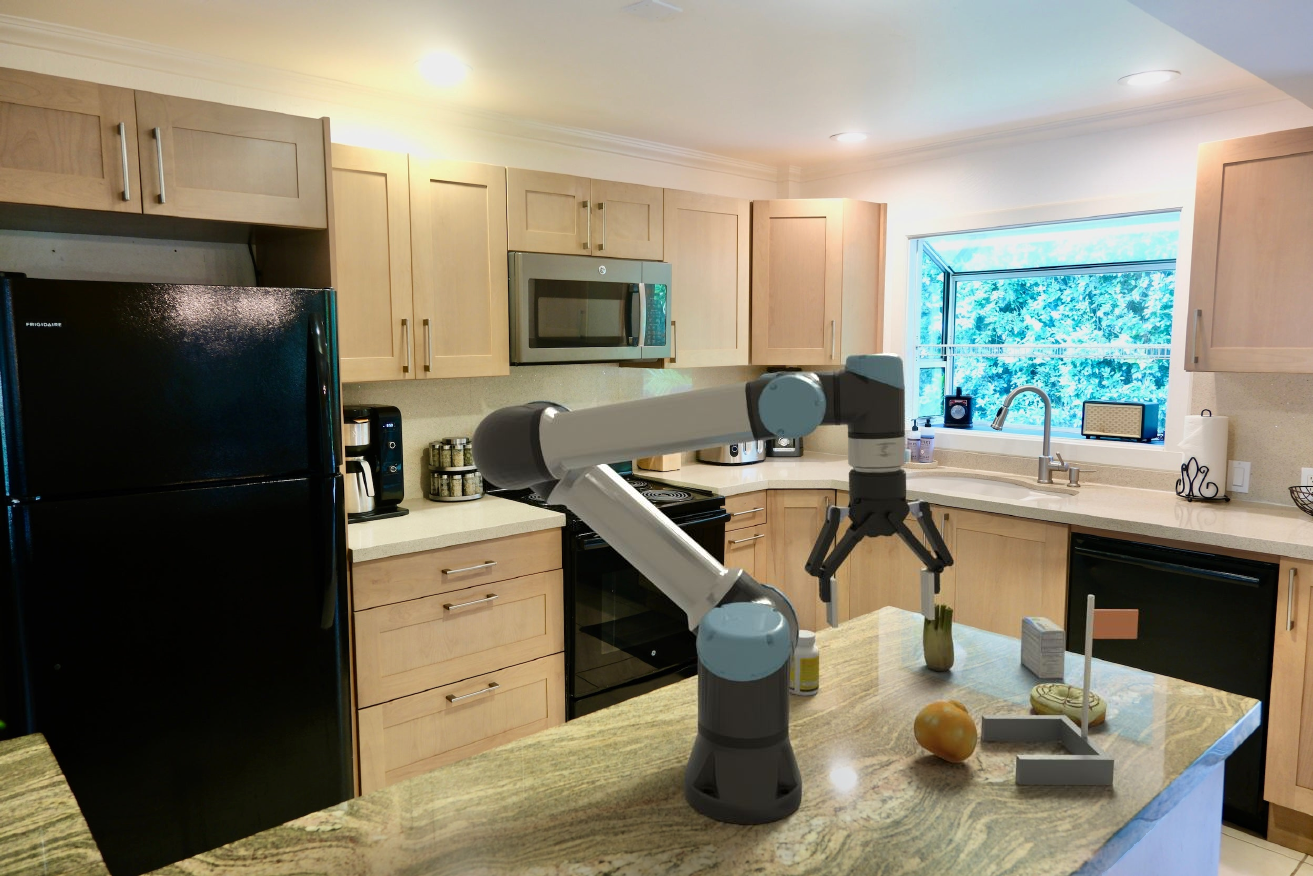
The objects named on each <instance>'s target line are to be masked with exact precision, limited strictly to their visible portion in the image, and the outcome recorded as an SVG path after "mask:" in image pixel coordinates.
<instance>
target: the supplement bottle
mask: <svg viewBox="0 0 1313 876" xmlns="http://www.w3.org/2000/svg"><path fill="white" fill-rule="evenodd" d="M819 649H820V648H818V646H817V645H816V633H815V632H813V631H810V630H805V629H799V639H798V644H797V647H796V649H795V653H794V658H793V662H792V667H791V672H790V686H789V693H791V694H793V695H797V696H803V697H805V696H812V695H815V694H818V692H819V690H820V688H819V687H820V650H819Z"/></svg>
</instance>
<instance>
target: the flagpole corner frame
mask: <svg viewBox="0 0 1313 876" xmlns="http://www.w3.org/2000/svg"><path fill="white" fill-rule="evenodd" d="M1138 623H1139V609H1095V595H1093V594H1088V595H1087V609H1086V624H1085V626H1086V628H1085V647H1084V666H1083V667H1084V668H1083V669H1084V670H1083V686H1082V687H1083V704H1082V723H1081V726H1079V725H1076V724H1075V723H1073V722H1072V721H1071V720H1070V719H1069V718H1068V717H1067V716H1066V715H1039V714H1037V715H1036V714H1035V715H1034V714H981V729H980V730H981V731H980V733H981V734H980V739H983V740H982V741H983V742H984V741H985V742H986V741H987V742H988V741H989V743H990V741H991V743H992V741H993V742H994V741H995V742H996V743H997V742H1003V743H1005V742H1007V743H1009V742H1010V743H1012V742H1013V741H1014V742H1016V743H1017V742H1019V743H1021V742H1022V743H1023V742H1024V743H1025V742H1026V743H1028V742H1029V743H1030V742H1032V743H1033V742H1034V743H1035V742H1036V741H1037V742H1038V741H1039V743H1041V741H1042V743H1046V742H1047V743H1060V744H1062V745H1063V746H1064V748H1065V749H1066V750H1067V751H1068V752H1070V753H1071V754H1061V755H1060V754H1016V758H1015V759H1016V761H1015V778H1014V779H1015V781H1016V783H1017V784H1018V785H1019V786H1022V785H1023V786H1024V785H1025V786H1030V785H1031V786H1033V785H1035V786H1114V774H1115V773H1114V770H1115V769H1114V768H1115V759H1114V758H1113V757H1112V756H1111V755H1110V754H1108V753H1107V752H1106V751H1105V750H1104V749H1103V748H1102V747H1101V746H1100V745H1099V744H1098V743H1096V742H1095V741H1094V739H1092V738H1091V737H1090V736H1089V735H1088V734H1089V733H1088V731H1089V729H1088V728H1089V726H1088V714H1089V695H1090V692H1091V690H1090V689H1091V674H1092V657H1093V653H1092V652H1093V651H1092V650H1093V639H1095V640H1096V639H1097V640H1098V639H1099V640H1101V639H1102V640H1106V639H1107V640H1108V639H1109V640H1111V639H1113V640H1119V639H1121V640H1129V639H1130V640H1135V639H1136V640H1137V639H1138V627H1139V624H1138ZM1043 741H1044V742H1043ZM985 742H984V743H985ZM1014 742H1013V743H1014ZM1037 742H1036V743H1037Z"/></svg>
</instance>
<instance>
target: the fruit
mask: <svg viewBox="0 0 1313 876" xmlns="http://www.w3.org/2000/svg"><path fill="white" fill-rule="evenodd" d="M914 719H915V720H914V722H913V735H914V737H915V740H916V743H918V745H919V746H921V748H923V749H924V750H926V751H928V752H930V753H932V754H933V755H936V756H937V757H939V758H941V759H942V760H945V761H947V762H948V763H954V764H955V763H960V762H964V761H965V760H967V759H968V758H970V757H971V756H972V755H973V753H974V752H975V750H976V747H977V743H978V729H977V725H976V723H975V720H974V719H973V717H972V716H971V715H970V714H969V711H968V709H967V708H966V706H965V705H964V704H963V703H961V702H959V701H958V700H957V701H956V700H953V699H951V700H949V701H947V702H946V701H936V702H933V703H929V704H928V705H925V707H923V708H921V709H920V711H919V712H918V714H917V715H915V718H914Z"/></svg>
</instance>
